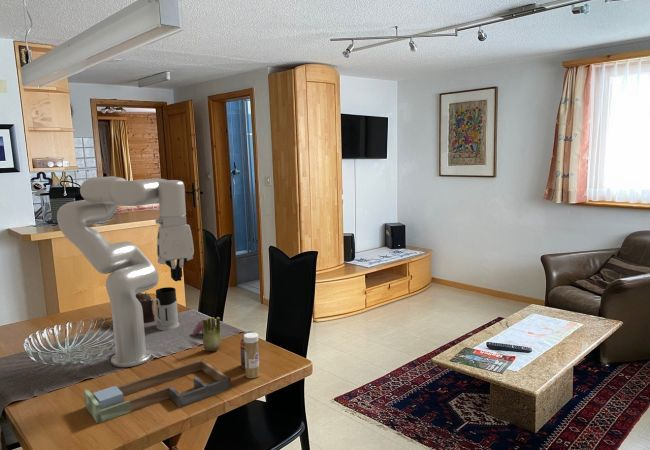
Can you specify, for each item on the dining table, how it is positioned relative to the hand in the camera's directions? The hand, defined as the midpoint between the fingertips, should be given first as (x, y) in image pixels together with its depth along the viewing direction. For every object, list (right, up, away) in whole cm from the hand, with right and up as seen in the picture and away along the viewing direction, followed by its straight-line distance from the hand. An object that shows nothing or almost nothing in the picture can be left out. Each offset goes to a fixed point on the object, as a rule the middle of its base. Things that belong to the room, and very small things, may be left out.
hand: (176, 280), depth 150 cm
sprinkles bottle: (+23, -30, +2) cm, 38 cm away
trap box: (-2, -33, -10) cm, 34 cm away
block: (-14, -34, -16) cm, 40 cm away
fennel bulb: (+6, -27, +22) cm, 35 cm away
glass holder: (-18, -24, +43) cm, 53 cm away
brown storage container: (-33, -22, +55) cm, 68 cm away
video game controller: (+1, -25, +35) cm, 43 cm away
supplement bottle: (+21, -29, +9) cm, 37 cm away
